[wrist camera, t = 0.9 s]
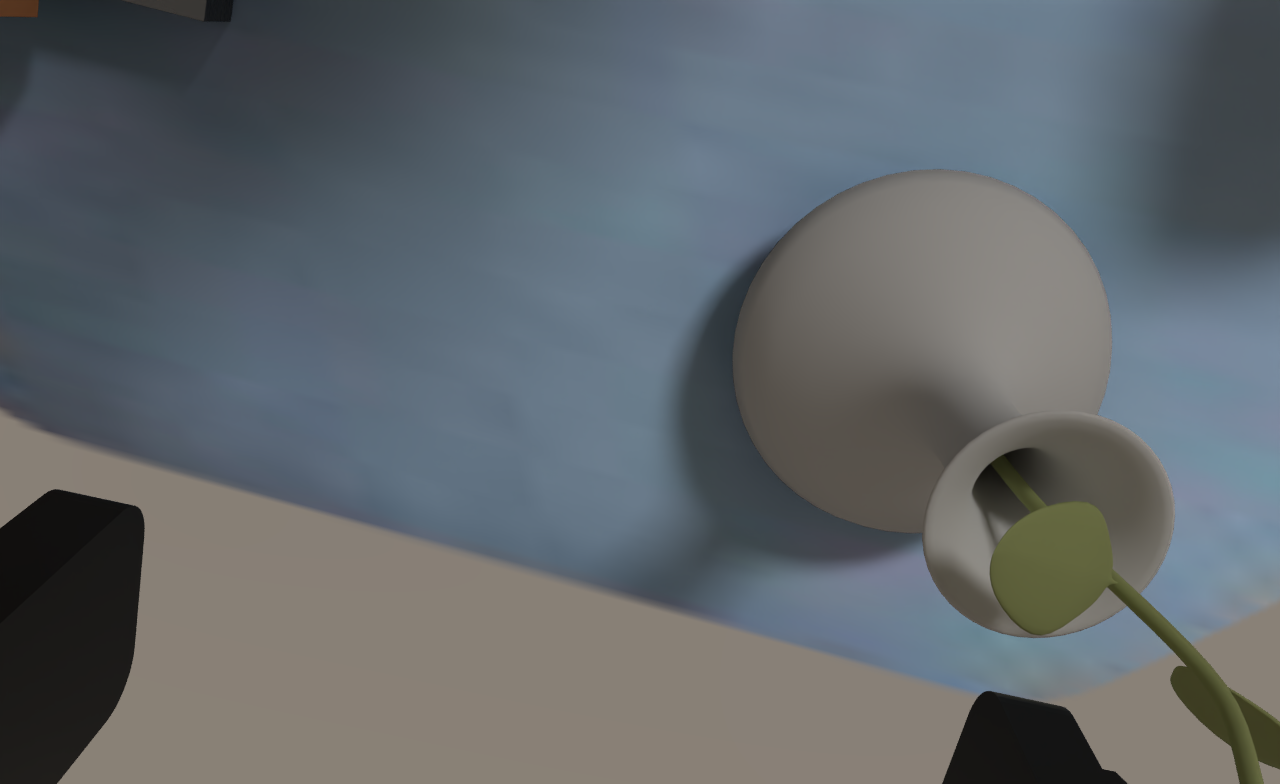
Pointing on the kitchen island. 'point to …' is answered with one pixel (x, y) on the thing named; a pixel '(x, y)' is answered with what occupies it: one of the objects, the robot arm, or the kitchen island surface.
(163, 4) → the dock
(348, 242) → the kitchen island surface
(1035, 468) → the flower in vase
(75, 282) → the kitchen island surface
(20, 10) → the lock pin
